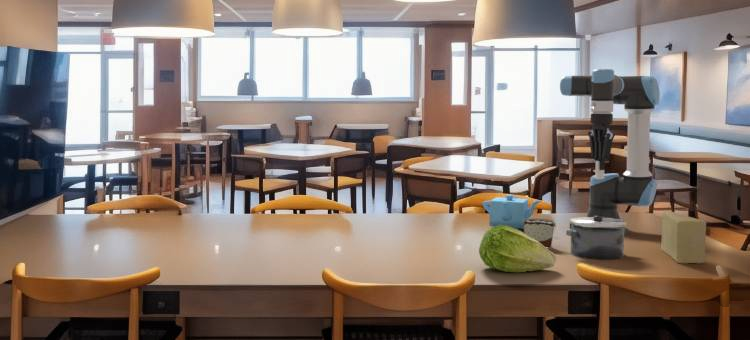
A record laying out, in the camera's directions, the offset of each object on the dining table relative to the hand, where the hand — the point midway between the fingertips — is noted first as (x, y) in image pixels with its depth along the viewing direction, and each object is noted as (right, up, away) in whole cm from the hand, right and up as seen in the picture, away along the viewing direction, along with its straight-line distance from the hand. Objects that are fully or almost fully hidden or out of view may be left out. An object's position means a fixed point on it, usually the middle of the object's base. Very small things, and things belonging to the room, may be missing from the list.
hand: (599, 178), depth 253 cm
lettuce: (-35, -29, -25) cm, 52 cm away
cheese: (+26, -28, -4) cm, 38 cm away
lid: (-1, -17, -1) cm, 17 cm away
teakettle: (-23, -22, +46) cm, 56 cm away
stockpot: (-2, -27, 0) cm, 27 cm away
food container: (-19, -26, +13) cm, 34 cm away
